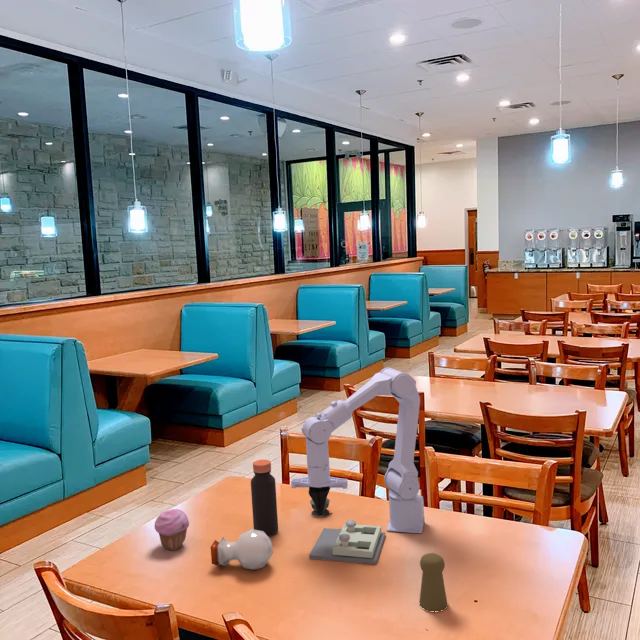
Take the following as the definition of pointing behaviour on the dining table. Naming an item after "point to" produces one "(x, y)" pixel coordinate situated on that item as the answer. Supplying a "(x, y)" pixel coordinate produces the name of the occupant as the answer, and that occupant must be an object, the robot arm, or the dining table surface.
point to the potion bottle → (244, 550)
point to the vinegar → (264, 498)
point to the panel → (358, 541)
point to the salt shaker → (316, 509)
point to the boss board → (328, 548)
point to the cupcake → (172, 528)
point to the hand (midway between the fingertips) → (321, 513)
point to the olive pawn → (432, 583)
